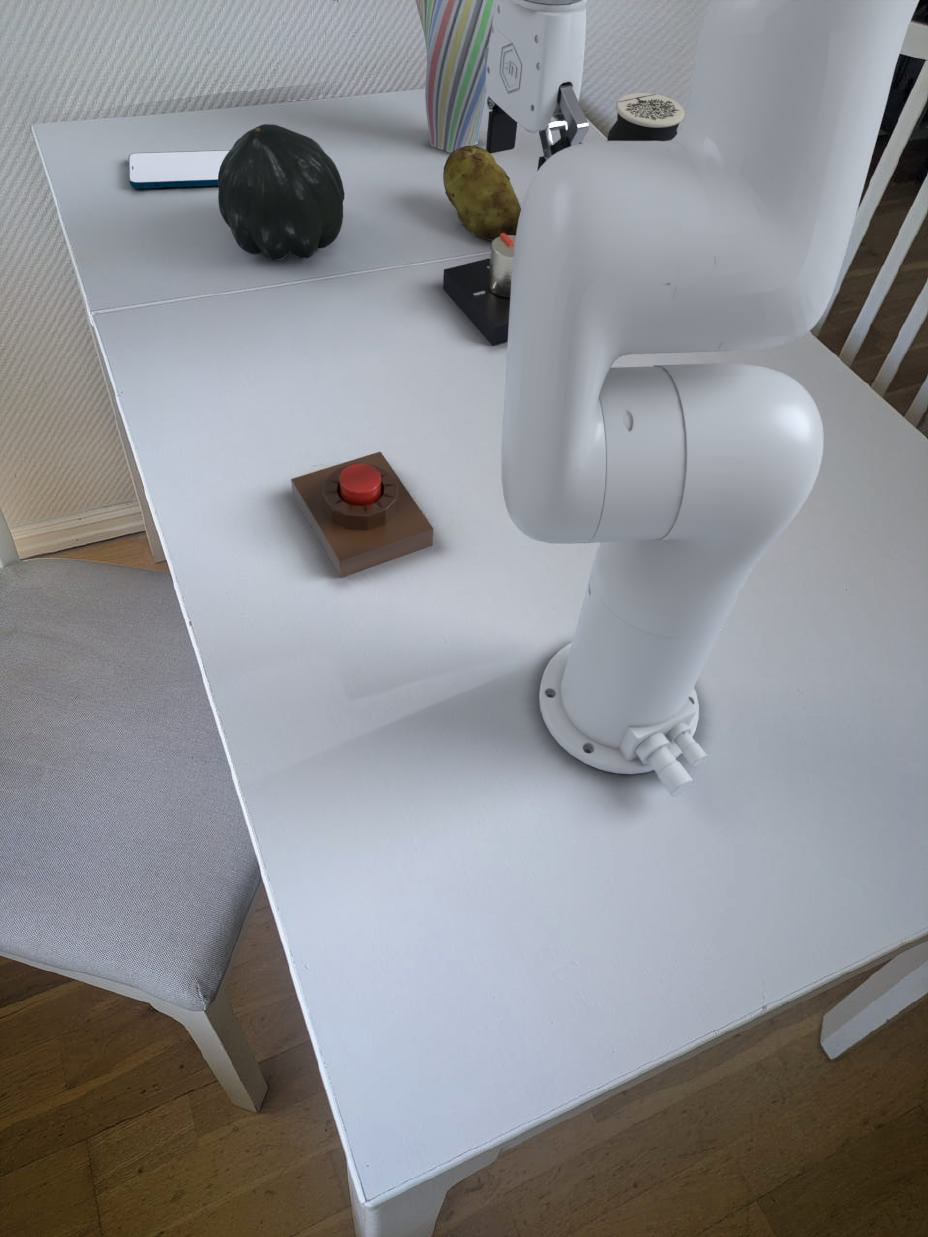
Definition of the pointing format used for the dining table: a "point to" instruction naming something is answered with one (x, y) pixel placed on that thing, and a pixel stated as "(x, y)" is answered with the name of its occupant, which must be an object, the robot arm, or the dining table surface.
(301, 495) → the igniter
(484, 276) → the hob panel
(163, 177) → the smartphone
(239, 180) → the squash
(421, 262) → the dining table surface
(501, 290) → the hob knob
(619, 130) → the travel mug
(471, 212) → the potato
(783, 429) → the robot arm
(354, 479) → the button
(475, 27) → the vase
